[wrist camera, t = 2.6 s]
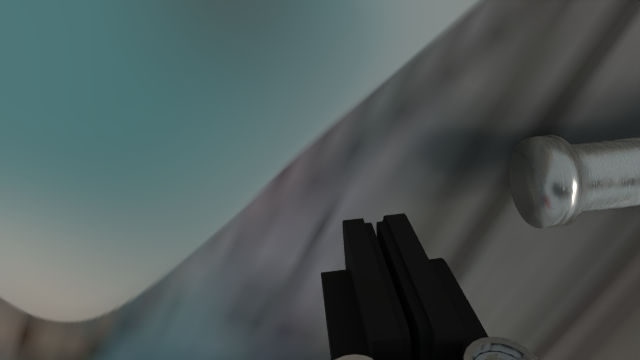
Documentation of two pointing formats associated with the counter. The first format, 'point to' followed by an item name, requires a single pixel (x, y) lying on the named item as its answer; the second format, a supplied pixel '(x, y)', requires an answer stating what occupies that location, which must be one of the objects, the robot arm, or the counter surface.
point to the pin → (573, 178)
